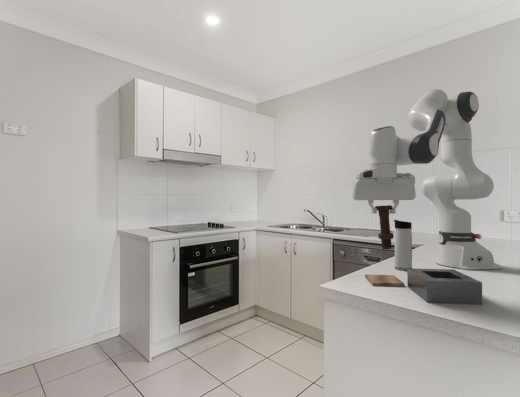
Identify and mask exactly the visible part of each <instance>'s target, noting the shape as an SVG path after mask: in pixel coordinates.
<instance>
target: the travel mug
mask: <svg viewBox="0 0 520 397" xmlns="http://www.w3.org/2000/svg"><path fill="white" fill-rule="evenodd" d="M393 222H394V269H396V270H397V269H398V270H397V271H402V270H403V271H405V272H407V268H413V248H412V247H413V244H412V243H413V242H412V241H413V237H412V236H413V233H412V232H413V230H412V228H413V227H412V225H413V224H412V222H411V221H404V220H399V219H394V220H393ZM403 271H402V272H403Z"/></svg>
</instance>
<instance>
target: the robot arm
mask: <svg viewBox="0 0 520 397" xmlns="http://www.w3.org/2000/svg"><path fill="white" fill-rule="evenodd" d="M479 106H480V103H479V98H478V96H477V95H476V94H475V93H474V92H473V91H461V92H459V93H455V94H451V95H448V94H447V93H446V92H445V91H444V90H442V89H439V88H434V89H430V90H428V91H427V92H425V93H424V94H422V95H421V96H420V97H419V98H418V99H417V100H416V102H415V103H414V104H413V106H411V108H410V110H409V112H408V114H407V115H408V116H407V119H408V123H409V124H410V126H411V127H412V128H413V129H415V130H417V131H419V132H421V133H419V134H416V135H411V136H405V137H401V136H400V137H399V136H398V135H397V133H396V128H395V127H394V126H393V125H390V126H389V125H388V126H383V127H382V126H381V127H378V128H375V129H373V130H372V131H371V133H370V135H369V136H370V137H369V153H368V154H369V157H370V161H369V164H368V165H369V168H368V169H364V170H363V171H360V172H358V173H356V174H355V179H356V180H355V181H354V184H353V186H352V195H351V196H352V199H353V200H354V201H367V203H368V206H369V207H370V210H371V214H375V215H376V214H378V210H377V208H375V206H374V205H373V204H374V203H375V202H374V201H392V203H393V205H392V208H393V210H389V214H396V212H397V211H396V210H397V207H399V204H400V201H413V200H415V199H416V194H417V193H416V188H415V184H416V177H415V176H414V174H411V173H410V172H406V173H402V172H399V173H398V166H406V165H407V166H408V165H420V164H421V165H423V164H425V165H426V164H430V163H432V161H434V159H435V158H436V157H437V156H438V153H439V148H440V160H441V162H442V164H444V165H445V166H448V167H450V168H453V169H455V171H456V172H455V173H453V174H451V173H449V174H437V175H432V176H429V177H426V178H424V180H423V181H422V183H421V188H420V189H421V193H422V194H423V196H424V197H426V199H428V200H430V201H431V202H432V203H433V205H434V206H435V207H436V209H437V211H438V214H439V215H438V216H439V231H438V244H439V248H438V253H437V254H438V255H437V258H436V261H435V263H436V264H438V265H441V266H444V267H451V268H456V269H461V270H472V271H473V270H475V271H476V270H502V265H500V264H498V263H496V262H495V259H494V255H493V253H492V252H491V250H489V249H487V248H486V247H484V246H483V245H481V243H479V242H478V241H477V239H478V240H481V238H482V234H479V233H474V232H472V216H471V214H470V212H469V211H467V210H466V209H464V208H462V207H459V206H458V205H457V204H456V203H455V201H456V200H478V199H484V198H488V197H490V195H491V194H492V193H493V191H494V187H495V185H494V181H493V178H492V177H491V176H489V174H486V173H485V172H483V171H482V170H480V169H479V168H478V166H476V164H475V162H474V157H473V146H472V145H473V143H472V142H473V135H472V128H471V123H470V122H471V121H472V120H473V118H474V117H475V116H476V114H477V112H478V111H479Z"/></svg>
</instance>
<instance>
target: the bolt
mask: <svg viewBox="0 0 520 397" xmlns="http://www.w3.org/2000/svg"><path fill="white" fill-rule="evenodd" d="M392 207H393V205H391V204H390V205H376V206H374V208H377V213H378V216H379V217H378V218H379V226H380V232H379V233H377V234H378V235H377V237H378V239H379V240H381V249H383V250H391V249H392V248H393V246H392V239H393V240H394V239H395V235H394V233H393V232H391V225H390V210H393V208H392Z"/></svg>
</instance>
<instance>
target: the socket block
mask: <svg viewBox="0 0 520 397" xmlns="http://www.w3.org/2000/svg"><path fill="white" fill-rule="evenodd" d="M406 272H407V287H408V289H410V290H411V291H412V292H413V293H415V294H416V295H418V296H419V297H420V298H421V299H422V300H423V301H425V302H426V303H432V304H433V303H435V304H437V303H438V304H460V305H483V282H482V281H480V280H478V279H475V278H473V277H471V276H469V275H468V274H465V273H463V272H460V271H458V270H456V269H455V268H453V269H449V268H447V269H445V268H413V267H412V268H407V271H406Z"/></svg>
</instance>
